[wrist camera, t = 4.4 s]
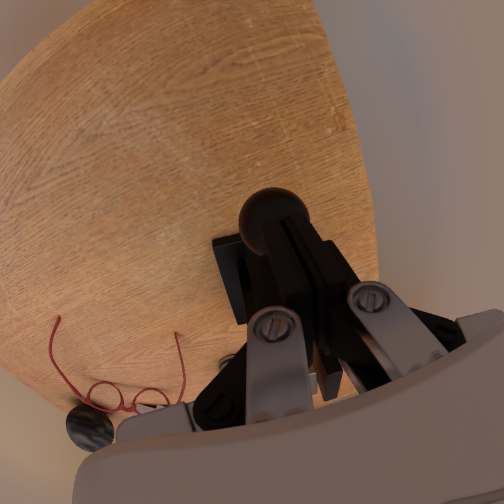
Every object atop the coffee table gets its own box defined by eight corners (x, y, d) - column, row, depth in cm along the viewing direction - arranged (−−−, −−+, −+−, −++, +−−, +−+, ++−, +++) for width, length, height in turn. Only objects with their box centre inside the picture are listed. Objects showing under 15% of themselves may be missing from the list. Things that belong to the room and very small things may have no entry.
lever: (229, 187, 12) (233, 209, 9) (294, 174, 12) (316, 192, 9) (273, 373, 19) (281, 406, 16) (312, 363, 19) (324, 395, 16)
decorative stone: (82, 392, 36) (74, 440, 27) (125, 413, 41) (122, 458, 33) (63, 400, 38) (55, 442, 29) (101, 419, 43) (98, 458, 35)
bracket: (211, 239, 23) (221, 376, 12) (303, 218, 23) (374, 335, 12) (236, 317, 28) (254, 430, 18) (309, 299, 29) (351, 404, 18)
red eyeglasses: (81, 379, 33) (75, 405, 29) (50, 313, 25) (36, 345, 21) (183, 393, 37) (184, 421, 33) (187, 332, 29) (187, 370, 25)
